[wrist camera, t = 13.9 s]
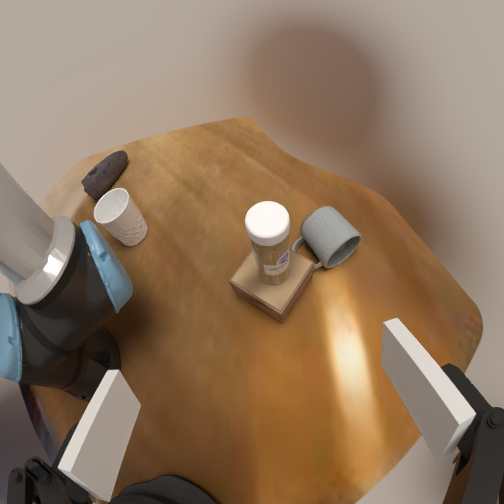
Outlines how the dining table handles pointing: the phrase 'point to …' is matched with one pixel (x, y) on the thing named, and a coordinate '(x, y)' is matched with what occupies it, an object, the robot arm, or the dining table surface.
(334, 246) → the ceramic mug
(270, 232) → the sprinkles bottle
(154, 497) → the black fedora hat
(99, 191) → the perforated stone tool
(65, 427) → the dining table surface
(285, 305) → the tan block
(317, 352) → the dining table surface
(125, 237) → the white cup
